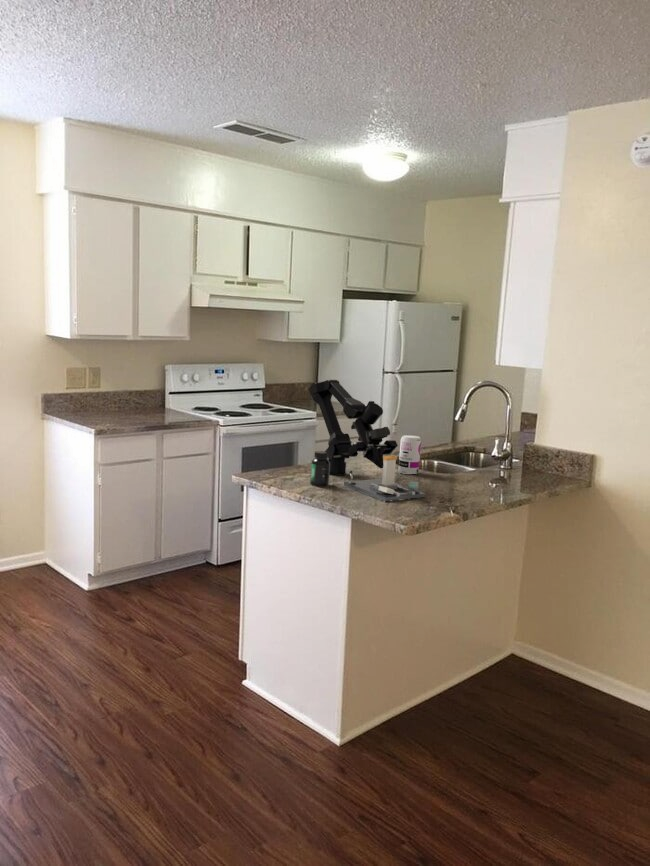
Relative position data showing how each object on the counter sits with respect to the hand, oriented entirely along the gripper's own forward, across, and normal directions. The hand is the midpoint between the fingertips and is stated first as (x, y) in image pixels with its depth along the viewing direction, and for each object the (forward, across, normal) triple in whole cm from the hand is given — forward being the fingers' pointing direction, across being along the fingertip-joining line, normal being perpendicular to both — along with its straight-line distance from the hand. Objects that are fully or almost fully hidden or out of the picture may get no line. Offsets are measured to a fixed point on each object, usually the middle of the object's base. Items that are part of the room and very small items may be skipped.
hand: (382, 467), depth 258 cm
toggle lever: (-1, -8, +9) cm, 12 cm away
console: (+7, 0, +4) cm, 8 cm away
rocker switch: (+11, -6, -3) cm, 13 cm away
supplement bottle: (-4, -17, +16) cm, 24 cm away
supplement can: (-8, +29, +20) cm, 36 cm away
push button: (+11, +6, -3) cm, 13 cm away
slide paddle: (+7, 0, +2) cm, 8 cm away
